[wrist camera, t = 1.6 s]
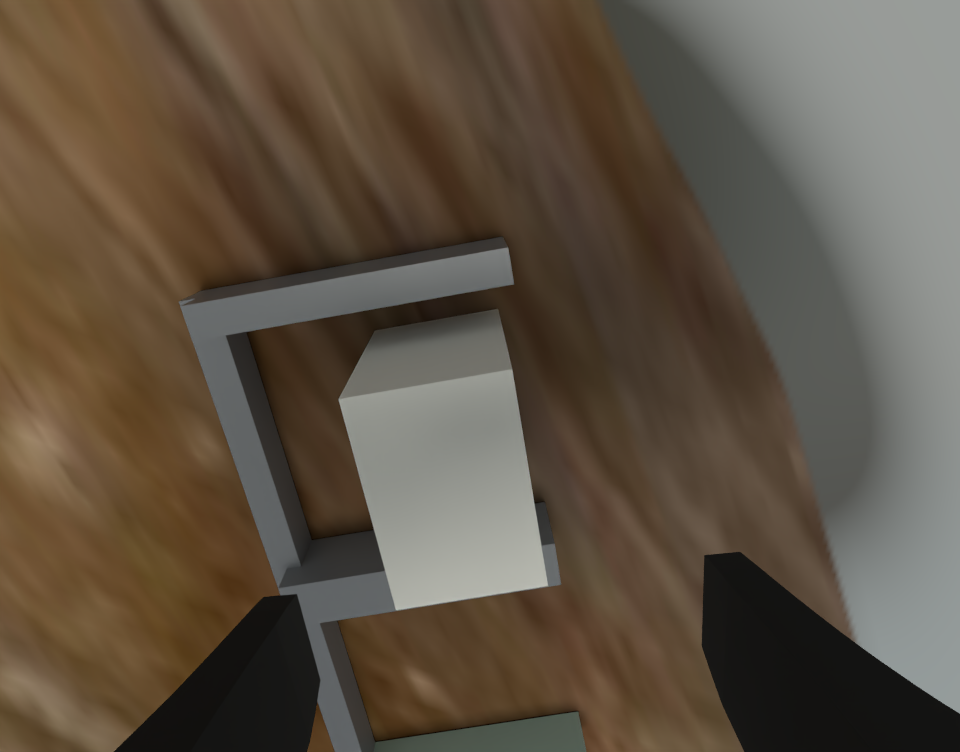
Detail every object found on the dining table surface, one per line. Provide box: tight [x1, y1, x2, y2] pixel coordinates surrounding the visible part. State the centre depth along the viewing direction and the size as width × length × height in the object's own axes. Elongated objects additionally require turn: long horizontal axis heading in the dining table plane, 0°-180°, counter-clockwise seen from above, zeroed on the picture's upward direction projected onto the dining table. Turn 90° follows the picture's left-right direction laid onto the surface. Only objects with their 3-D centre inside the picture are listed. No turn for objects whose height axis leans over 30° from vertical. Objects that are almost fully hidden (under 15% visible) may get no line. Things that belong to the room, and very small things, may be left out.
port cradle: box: [179, 237, 586, 752], centre depth 21 cm, size 10×20×2 cm, turn 10°
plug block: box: [339, 309, 548, 610], centre depth 18 cm, size 4×6×6 cm, turn 10°
